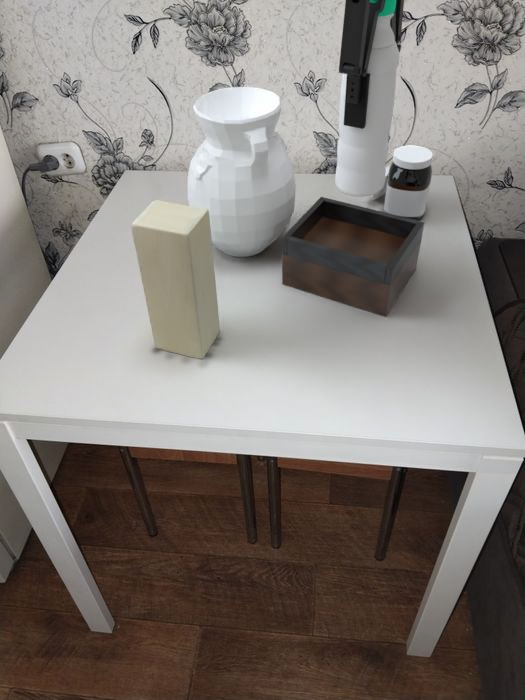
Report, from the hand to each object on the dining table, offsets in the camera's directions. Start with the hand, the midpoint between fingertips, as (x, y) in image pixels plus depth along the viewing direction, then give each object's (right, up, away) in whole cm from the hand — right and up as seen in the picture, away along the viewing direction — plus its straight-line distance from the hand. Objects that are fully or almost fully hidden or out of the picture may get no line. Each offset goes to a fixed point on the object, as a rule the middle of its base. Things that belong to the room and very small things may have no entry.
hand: (365, 114), depth 78 cm
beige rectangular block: (-25, -30, +10) cm, 40 cm away
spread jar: (+12, -4, +35) cm, 37 cm away
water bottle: (0, -8, +7) cm, 11 cm away
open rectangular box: (+1, -19, +20) cm, 27 cm away
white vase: (-17, -12, +28) cm, 35 cm away
